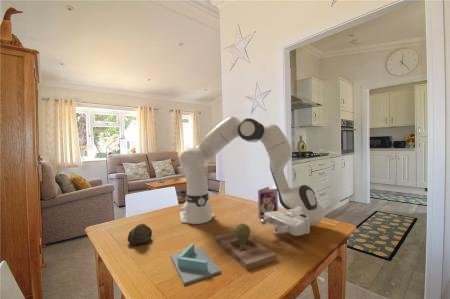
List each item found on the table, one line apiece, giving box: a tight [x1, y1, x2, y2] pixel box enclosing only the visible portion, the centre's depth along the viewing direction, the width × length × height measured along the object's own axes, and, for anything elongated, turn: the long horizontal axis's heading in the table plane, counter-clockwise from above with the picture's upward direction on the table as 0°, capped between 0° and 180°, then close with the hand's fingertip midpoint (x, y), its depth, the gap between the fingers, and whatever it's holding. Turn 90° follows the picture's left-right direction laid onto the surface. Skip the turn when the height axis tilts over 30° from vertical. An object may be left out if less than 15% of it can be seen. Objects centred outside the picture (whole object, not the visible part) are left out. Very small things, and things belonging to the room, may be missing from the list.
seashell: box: [127, 223, 153, 245], centre depth 93 cm, size 11×12×10 cm
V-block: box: [169, 243, 222, 286], centre depth 74 cm, size 18×12×4 cm, turn 27°
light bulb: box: [235, 223, 251, 251], centre depth 83 cm, size 6×6×10 cm
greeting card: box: [257, 186, 279, 219], centre depth 120 cm, size 11×7×15 cm, turn 104°
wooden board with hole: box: [215, 230, 277, 271], centre depth 83 cm, size 24×12×2 cm, turn 27°
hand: (268, 225), depth 88 cm, fingers open, 8 cm apart
